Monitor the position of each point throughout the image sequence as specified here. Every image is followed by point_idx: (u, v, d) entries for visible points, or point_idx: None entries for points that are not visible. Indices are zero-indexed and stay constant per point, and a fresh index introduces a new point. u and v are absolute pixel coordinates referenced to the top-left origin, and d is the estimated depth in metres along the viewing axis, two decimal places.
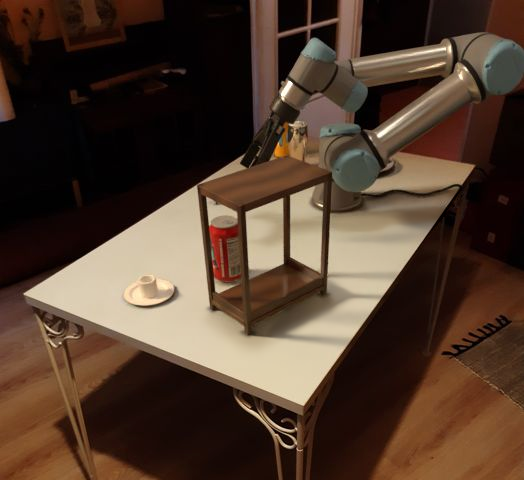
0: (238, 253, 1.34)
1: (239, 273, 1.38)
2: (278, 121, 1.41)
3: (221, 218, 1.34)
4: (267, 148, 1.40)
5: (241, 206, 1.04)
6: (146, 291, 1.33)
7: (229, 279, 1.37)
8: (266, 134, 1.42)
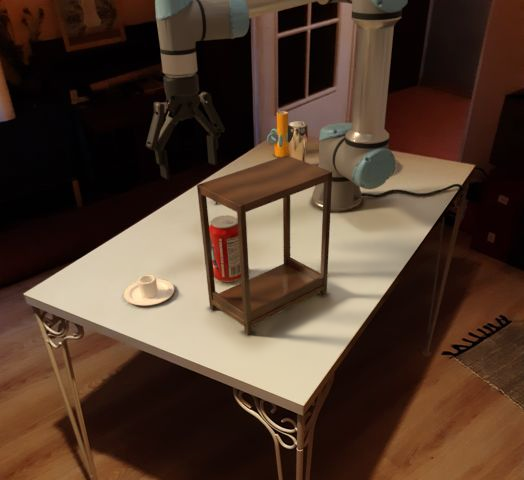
0: (238, 253, 1.34)
1: (239, 273, 1.38)
2: (166, 99, 1.24)
3: (221, 218, 1.34)
4: (150, 132, 1.25)
5: (241, 206, 1.04)
6: (146, 291, 1.33)
7: (229, 279, 1.37)
8: (166, 118, 1.27)
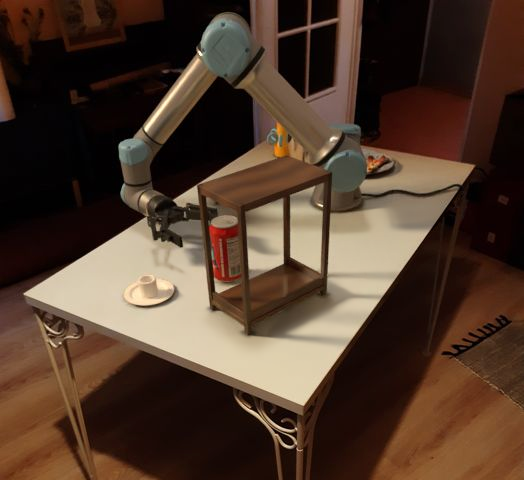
0: (238, 253, 1.34)
1: (239, 273, 1.38)
2: None
3: (221, 218, 1.34)
4: None
5: (241, 206, 1.04)
6: (146, 291, 1.33)
7: (229, 279, 1.37)
8: None
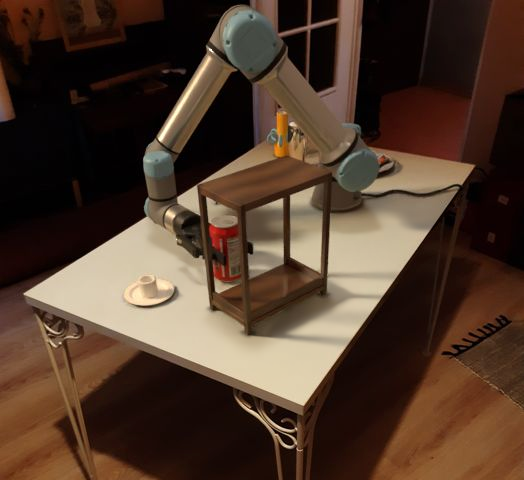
0: (238, 253, 1.34)
1: (239, 273, 1.38)
2: None
3: (221, 218, 1.34)
4: (189, 251, 1.37)
5: (241, 206, 1.04)
6: (146, 291, 1.33)
7: (229, 279, 1.37)
8: (196, 245, 1.41)
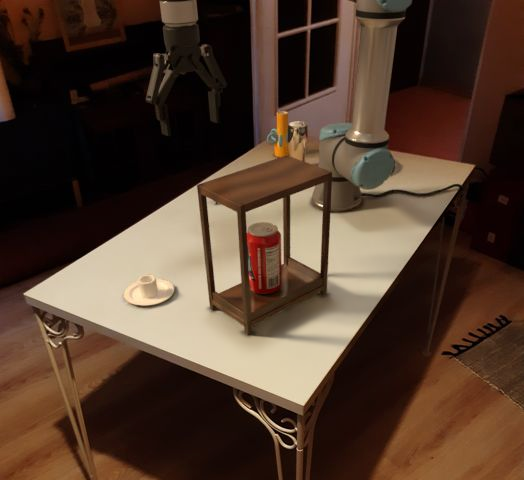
0: (277, 263, 1.24)
1: (277, 284, 1.27)
2: (166, 50, 1.19)
3: (259, 225, 1.23)
4: (150, 85, 1.20)
5: (241, 206, 1.04)
6: (146, 291, 1.33)
7: (266, 291, 1.27)
8: (166, 71, 1.22)
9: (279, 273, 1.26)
